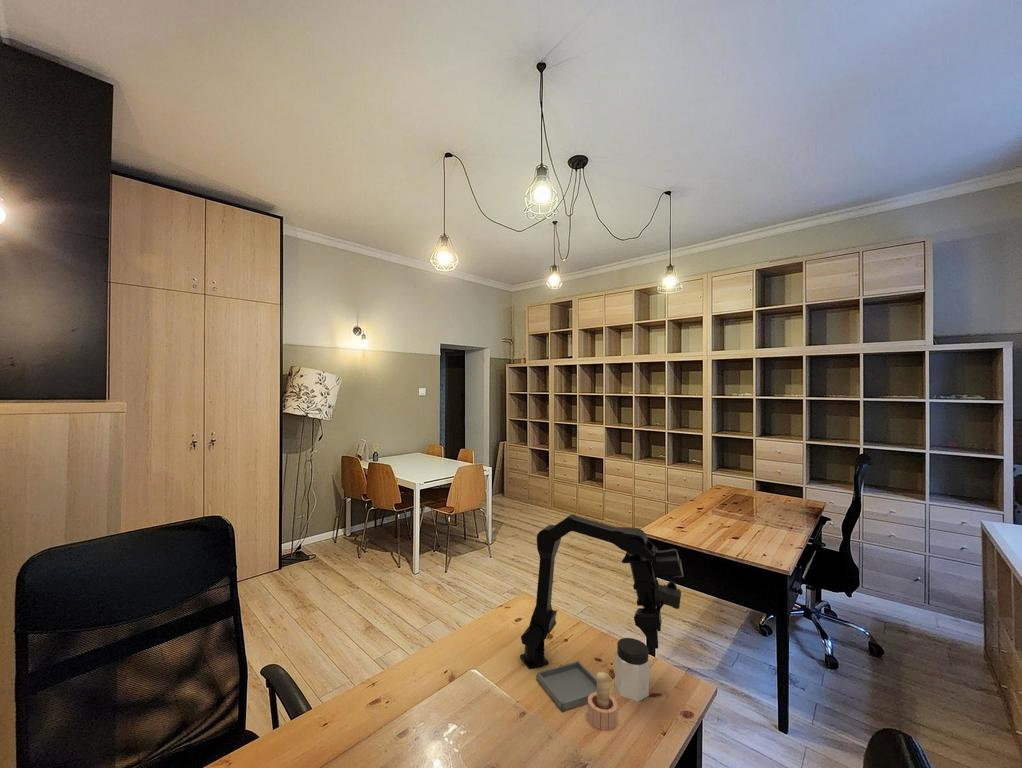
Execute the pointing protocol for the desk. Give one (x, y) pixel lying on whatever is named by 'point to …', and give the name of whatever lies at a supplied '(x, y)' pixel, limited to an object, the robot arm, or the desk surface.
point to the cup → (602, 713)
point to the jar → (632, 669)
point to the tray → (568, 685)
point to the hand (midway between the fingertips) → (657, 639)
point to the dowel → (602, 691)
